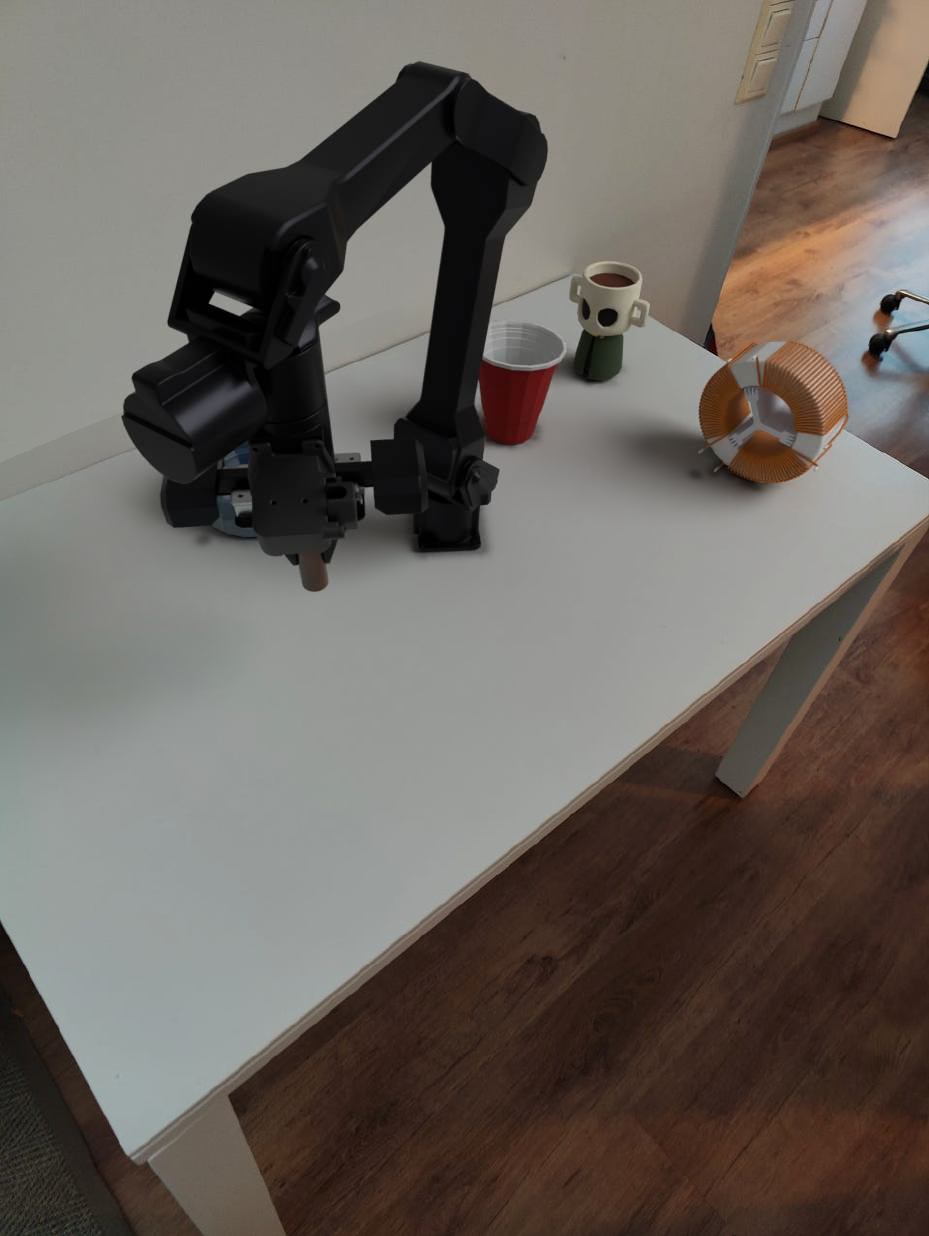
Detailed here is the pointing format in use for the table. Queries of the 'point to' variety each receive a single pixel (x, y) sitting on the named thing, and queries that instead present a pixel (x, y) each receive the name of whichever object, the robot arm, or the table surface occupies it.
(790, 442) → the coil
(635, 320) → the character mug
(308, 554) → the brown cylindrical peg
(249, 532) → the bowl
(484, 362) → the plastic cup
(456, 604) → the table surface
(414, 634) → the table surface
